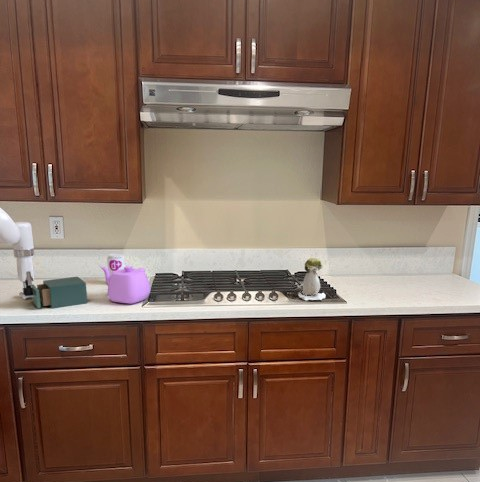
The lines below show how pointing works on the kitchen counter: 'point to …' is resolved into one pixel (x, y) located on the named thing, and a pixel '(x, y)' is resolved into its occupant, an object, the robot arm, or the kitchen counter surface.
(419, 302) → the kitchen counter surface
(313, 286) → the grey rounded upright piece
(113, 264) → the supplement can
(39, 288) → the drawer
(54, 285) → the cabinet
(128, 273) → the teapot
